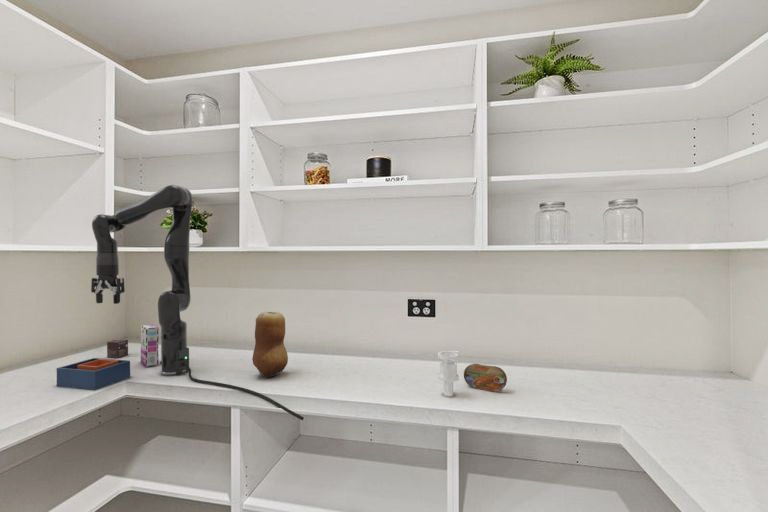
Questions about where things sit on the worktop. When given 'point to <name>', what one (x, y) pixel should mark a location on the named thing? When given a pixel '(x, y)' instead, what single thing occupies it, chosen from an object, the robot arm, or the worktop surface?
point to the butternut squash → (270, 344)
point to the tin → (485, 377)
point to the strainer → (448, 370)
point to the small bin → (97, 364)
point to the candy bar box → (149, 345)
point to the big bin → (92, 375)
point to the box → (117, 348)
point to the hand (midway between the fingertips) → (108, 303)
